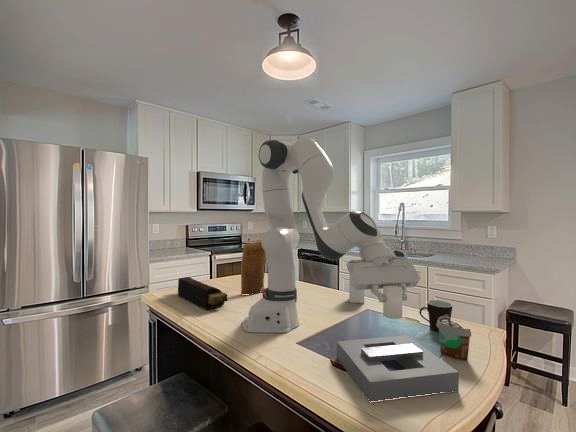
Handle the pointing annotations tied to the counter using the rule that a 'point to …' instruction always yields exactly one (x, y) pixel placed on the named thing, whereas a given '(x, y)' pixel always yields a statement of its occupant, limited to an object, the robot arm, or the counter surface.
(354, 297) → the milk carton
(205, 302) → the packaged item
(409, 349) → the flat gray rectangular bar
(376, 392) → the gray square frame block
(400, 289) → the tapered cream cylinder
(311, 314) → the counter surface
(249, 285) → the pancake mix bag
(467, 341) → the food container
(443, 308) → the coffee mug
